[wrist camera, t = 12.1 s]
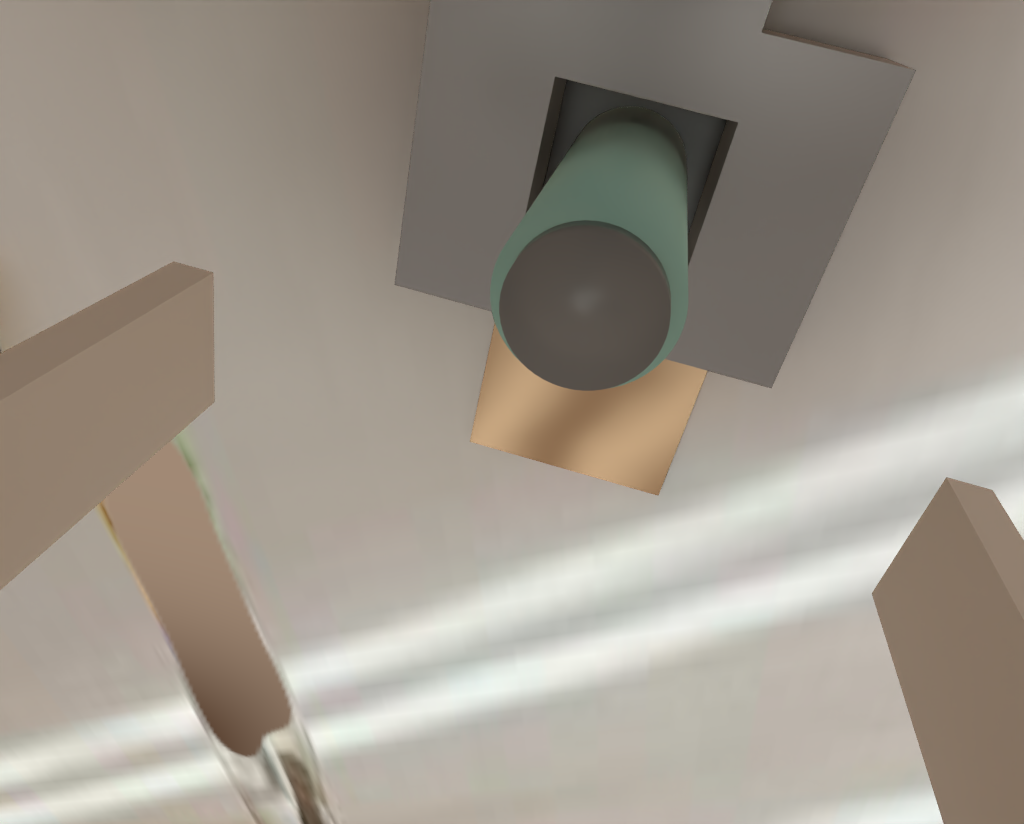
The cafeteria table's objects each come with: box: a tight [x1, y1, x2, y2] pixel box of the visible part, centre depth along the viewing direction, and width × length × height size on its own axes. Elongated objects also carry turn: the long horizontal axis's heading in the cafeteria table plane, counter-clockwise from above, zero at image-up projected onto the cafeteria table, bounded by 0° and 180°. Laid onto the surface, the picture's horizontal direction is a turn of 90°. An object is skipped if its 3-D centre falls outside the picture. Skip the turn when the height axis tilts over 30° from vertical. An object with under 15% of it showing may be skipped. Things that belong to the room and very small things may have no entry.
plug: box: [490, 106, 688, 391], centre depth 24 cm, size 5×5×16 cm
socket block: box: [395, 0, 916, 388], centre depth 23 cm, size 16×16×16 cm
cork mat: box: [470, 324, 707, 495], centre depth 36 cm, size 10×10×1 cm
